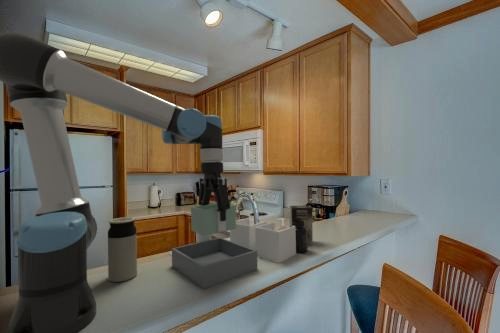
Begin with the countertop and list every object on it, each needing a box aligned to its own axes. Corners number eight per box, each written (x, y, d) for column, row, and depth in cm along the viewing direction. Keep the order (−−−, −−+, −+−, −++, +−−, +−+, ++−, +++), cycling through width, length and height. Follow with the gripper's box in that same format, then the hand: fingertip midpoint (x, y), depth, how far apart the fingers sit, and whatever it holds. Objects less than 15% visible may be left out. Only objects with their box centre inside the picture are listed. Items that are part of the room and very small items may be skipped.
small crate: (204, 235, 76) (204, 209, 76) (191, 230, 83) (190, 206, 83) (236, 228, 83) (235, 205, 84) (221, 224, 90) (220, 202, 90)
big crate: (203, 288, 68) (203, 267, 68) (172, 265, 85) (171, 248, 85) (257, 269, 81) (257, 250, 81) (220, 252, 98) (220, 237, 98)
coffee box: (291, 245, 105) (290, 207, 105) (289, 240, 111) (289, 205, 112) (313, 245, 105) (312, 207, 105) (310, 240, 111) (309, 205, 111)
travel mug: (141, 276, 77) (140, 219, 77) (113, 285, 71) (112, 223, 71) (131, 269, 82) (130, 215, 83) (105, 277, 77) (104, 219, 77)
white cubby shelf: (230, 248, 103) (229, 222, 103) (248, 242, 111) (247, 218, 111) (279, 263, 86) (278, 231, 86) (296, 254, 94) (295, 226, 94)
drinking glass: (209, 256, 94) (208, 216, 94) (192, 255, 95) (192, 216, 95) (215, 250, 100) (214, 213, 101) (199, 249, 102) (199, 213, 102)
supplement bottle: (303, 247, 102) (303, 218, 102) (310, 253, 95) (309, 222, 95) (287, 248, 101) (287, 219, 101) (293, 254, 94) (293, 223, 94)
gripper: (240, 160, 77) (242, 231, 77) (205, 162, 94) (207, 221, 94) (220, 160, 72) (222, 236, 72) (187, 163, 89) (189, 225, 89)
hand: (213, 228), depth 83 cm, fingers closed on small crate, 9 cm apart
